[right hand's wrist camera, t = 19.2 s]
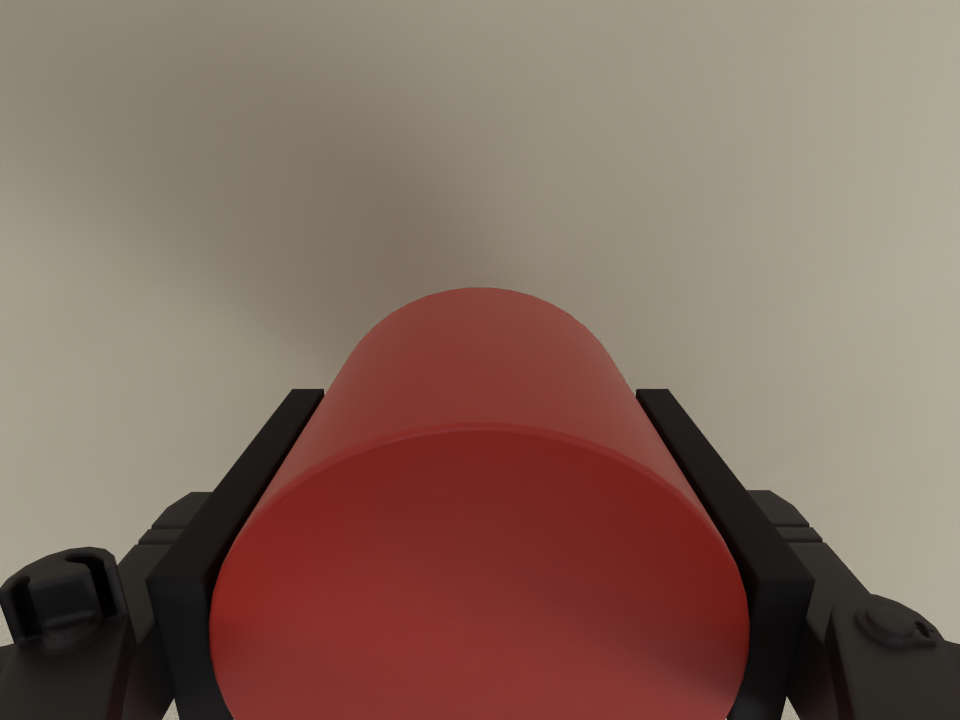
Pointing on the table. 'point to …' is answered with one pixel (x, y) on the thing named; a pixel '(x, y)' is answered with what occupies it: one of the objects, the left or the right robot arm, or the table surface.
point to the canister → (479, 540)
